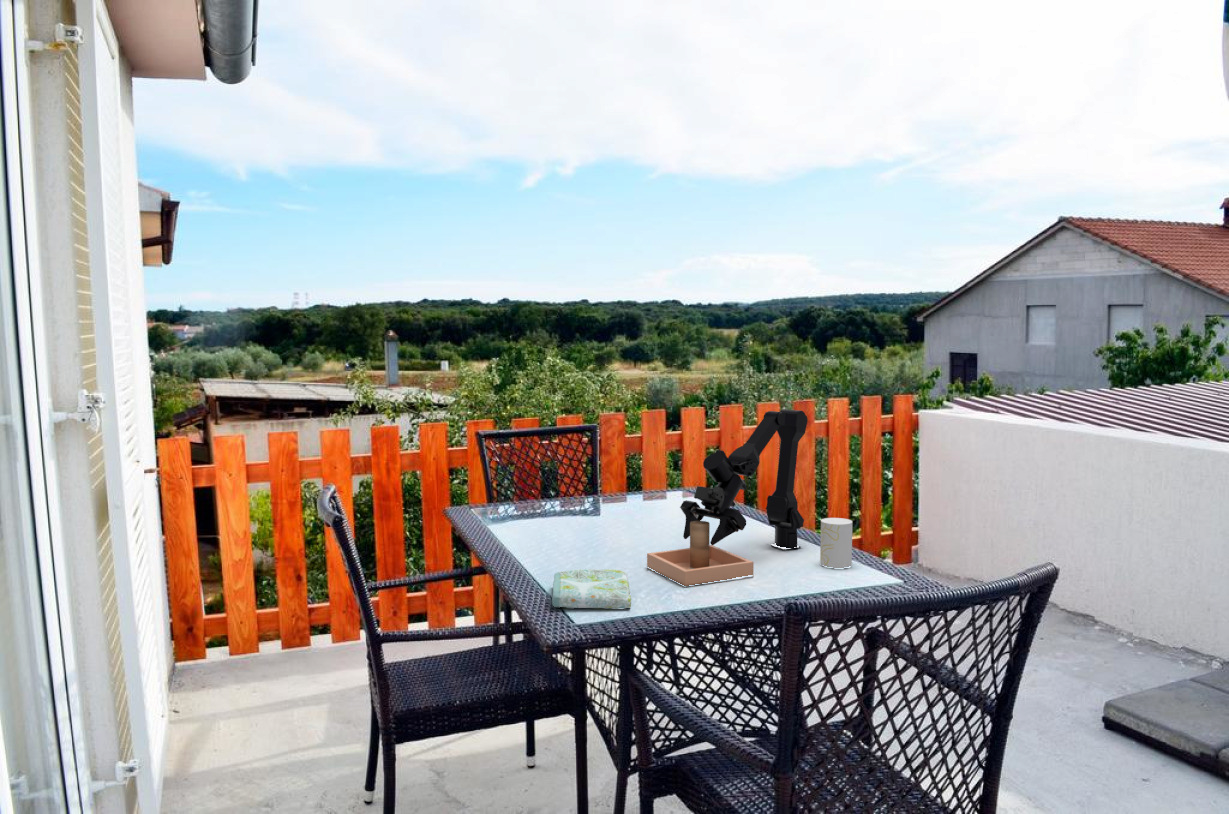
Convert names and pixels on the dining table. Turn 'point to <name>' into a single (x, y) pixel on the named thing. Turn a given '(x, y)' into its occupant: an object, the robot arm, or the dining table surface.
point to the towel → (591, 589)
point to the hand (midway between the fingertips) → (697, 541)
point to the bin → (678, 568)
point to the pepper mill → (699, 544)
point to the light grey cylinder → (836, 542)
